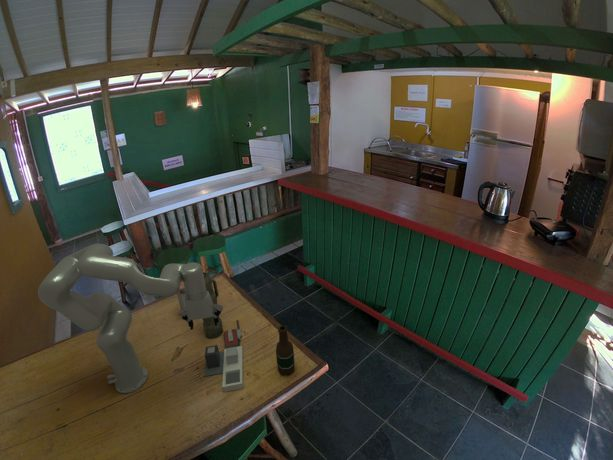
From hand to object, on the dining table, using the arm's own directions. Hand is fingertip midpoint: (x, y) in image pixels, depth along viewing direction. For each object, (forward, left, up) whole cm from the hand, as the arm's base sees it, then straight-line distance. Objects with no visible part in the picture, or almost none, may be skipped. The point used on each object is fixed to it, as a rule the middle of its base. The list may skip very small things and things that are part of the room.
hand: (204, 325), depth 130 cm
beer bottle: (+32, -10, -23) cm, 41 cm away
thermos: (-1, +20, -23) cm, 31 cm away
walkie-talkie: (+8, +15, -24) cm, 29 cm away
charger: (0, 0, -23) cm, 23 cm away
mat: (0, 0, -23) cm, 23 cm away
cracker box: (-12, +39, -23) cm, 47 cm away
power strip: (+9, -5, -23) cm, 25 cm away
